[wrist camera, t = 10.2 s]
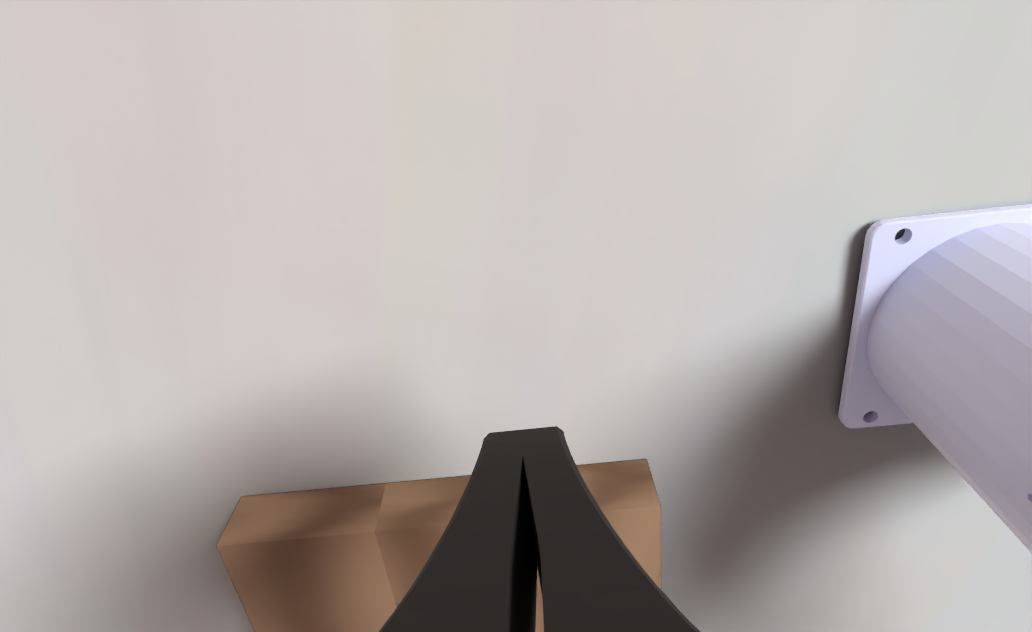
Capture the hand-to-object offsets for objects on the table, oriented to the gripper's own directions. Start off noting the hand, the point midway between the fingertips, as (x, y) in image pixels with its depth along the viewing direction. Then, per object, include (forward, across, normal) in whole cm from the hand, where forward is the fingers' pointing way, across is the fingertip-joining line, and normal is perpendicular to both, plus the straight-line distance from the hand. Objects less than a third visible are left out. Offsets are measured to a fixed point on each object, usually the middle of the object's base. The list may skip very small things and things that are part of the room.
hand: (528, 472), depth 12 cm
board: (+10, +4, +15) cm, 19 cm away
